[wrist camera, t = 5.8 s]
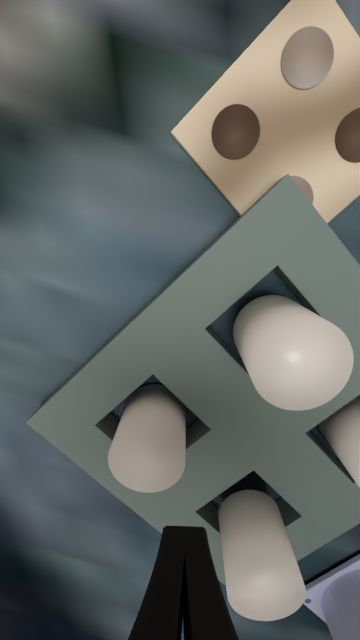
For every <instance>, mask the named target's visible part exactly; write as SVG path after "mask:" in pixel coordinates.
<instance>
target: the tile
mask: <svg viewBox="0 0 360 640" xmlns="http://www.w3.org/2000/svg"><path fill="white" fill-rule="evenodd" d="M171 135H172V136H173V137H174V138H175V140H176V141H177V142H178V143H179V144H180V145H181V147H182V148H183V149H184V150H185V151H186V153H187V154H188V155H189V156H190V157H191V158H192V160H193V161H194V162H195V163H196V164H197V166H198V167H199V168H200V169H201V170H202V171H203V173H204V174H205V175H206V176H207V177H208V179H209V180H210V181H211V182H212V183H213V184H214V186H215V187H216V188H217V189H218V190H219V192H220V193H221V194H222V195H223V196H224V198H225V199H226V200H227V201H228V202H229V203H230V205H231V206H232V207H233V208H234V209H235V211H236V212H237V213H238V214H239V215H240V216H241V215H242V214H243V213H244V212H245V211H246V210H247V209H248V208H250V207H251V206H252V205H253V204H254V203H255V202H256V201H257V200H258V199H259V198H260V197H261V196H262V195H263V194H264V193H265V192H266V191H267V190H268V189H270V188H271V187H272V186H273V185H274V184H275V183H276V182H277V181H278V180H279V179H281V178H283V177H284V176H286V175H287V174H289V175H290V177H291V178H292V179H293V180H294V182H295V183H296V184H297V186H298V187H299V188H300V189H301V191H302V192H303V193H304V195H305V196H306V197H307V198H308V200H309V201H310V202H311V204H312V205H313V206H314V207H315V209H316V210H317V211H318V213H319V214H320V215H321V216H322V218H323V219H324V220H325V222H326V223H328V222H329V221H330V220H331V219H333V218H334V217H335V216H336V215H337V214H338V213H339V212H341V211H342V210H343V209H344V208H345V207H346V206H347V205H349V204H350V203H351V202H352V201H353V200H354V199H355V198H357V197H358V196H359V195H360V38H359V36H358V35H357V33H356V32H355V30H354V29H353V27H352V26H351V24H350V22H349V21H348V19H347V18H346V16H345V15H344V13H343V12H342V10H341V9H340V7H339V6H338V4H337V3H336V1H335V0H291V1H290V2H289V3H288V4H287V5H286V6H285V8H284V9H283V10H282V11H281V12H280V13H279V14H278V15H277V16H276V17H275V18H274V20H273V21H272V22H271V23H270V24H269V25H268V26H267V27H266V28H265V29H264V31H263V32H262V33H261V34H260V35H259V36H258V37H257V38H256V39H255V40H254V41H253V43H252V44H251V45H250V46H249V47H248V48H247V49H246V50H245V51H244V52H243V54H242V55H241V56H240V57H239V58H238V59H237V60H236V61H235V62H234V63H233V64H232V66H231V67H230V68H229V69H228V70H227V71H226V72H225V73H224V74H223V75H222V77H221V78H220V79H219V80H218V81H217V82H216V83H215V84H214V85H213V86H212V87H211V89H210V90H209V91H208V92H207V93H206V94H205V95H204V96H203V97H202V98H201V100H200V101H199V102H198V103H197V104H196V105H195V106H194V107H193V108H192V109H191V110H190V112H189V113H188V114H187V115H186V116H185V117H184V118H183V119H182V120H181V121H180V123H179V124H178V125H177V126H176V127H175V128H174V129H173V130H172V131H171Z"/></svg>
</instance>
